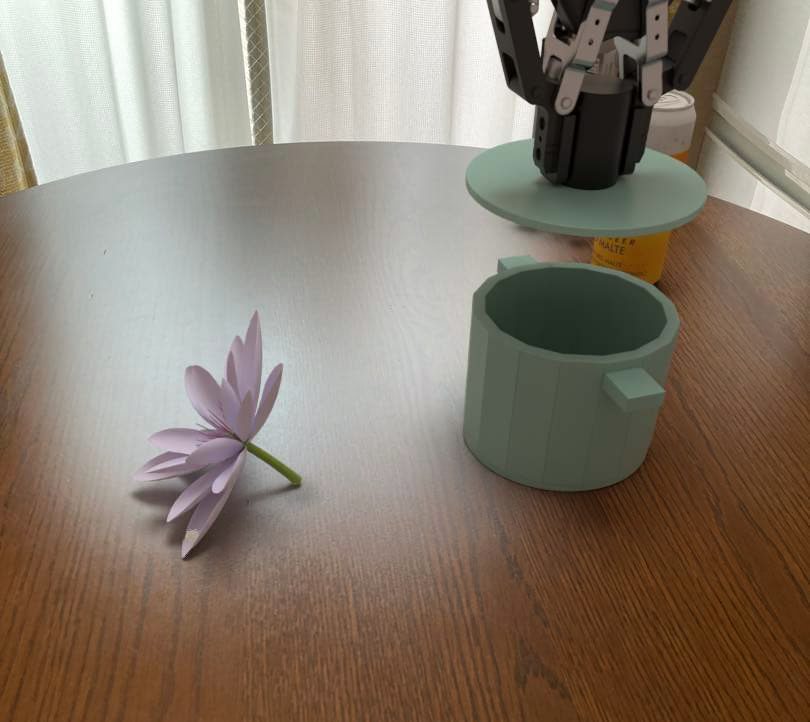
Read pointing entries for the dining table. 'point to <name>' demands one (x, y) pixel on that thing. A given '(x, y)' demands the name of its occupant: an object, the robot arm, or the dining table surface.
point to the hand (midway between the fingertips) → (586, 172)
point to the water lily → (218, 432)
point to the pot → (566, 372)
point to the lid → (590, 177)
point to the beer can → (672, 139)
